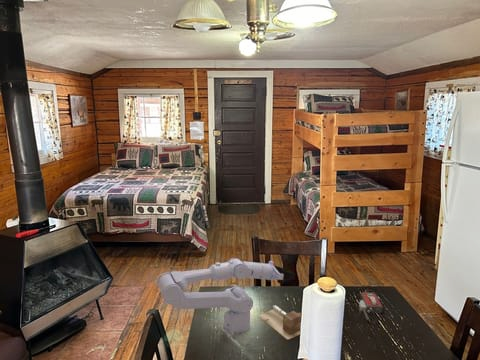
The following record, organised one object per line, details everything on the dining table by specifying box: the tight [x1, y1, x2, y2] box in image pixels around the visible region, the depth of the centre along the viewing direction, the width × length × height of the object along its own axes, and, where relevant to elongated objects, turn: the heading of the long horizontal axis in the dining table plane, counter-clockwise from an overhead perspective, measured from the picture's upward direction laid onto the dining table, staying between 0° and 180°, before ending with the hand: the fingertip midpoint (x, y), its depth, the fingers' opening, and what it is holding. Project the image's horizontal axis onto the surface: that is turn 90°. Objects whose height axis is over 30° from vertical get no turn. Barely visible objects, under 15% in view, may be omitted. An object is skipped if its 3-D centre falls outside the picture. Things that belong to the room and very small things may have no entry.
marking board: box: [257, 305, 301, 341], centre depth 136 cm, size 9×18×3 cm, turn 33°
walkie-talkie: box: [358, 291, 384, 322], centre depth 148 cm, size 9×4×20 cm
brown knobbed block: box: [282, 310, 302, 335], centre depth 131 cm, size 8×4×6 cm, turn 123°
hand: (288, 273), depth 139 cm, fingers open, 7 cm apart
